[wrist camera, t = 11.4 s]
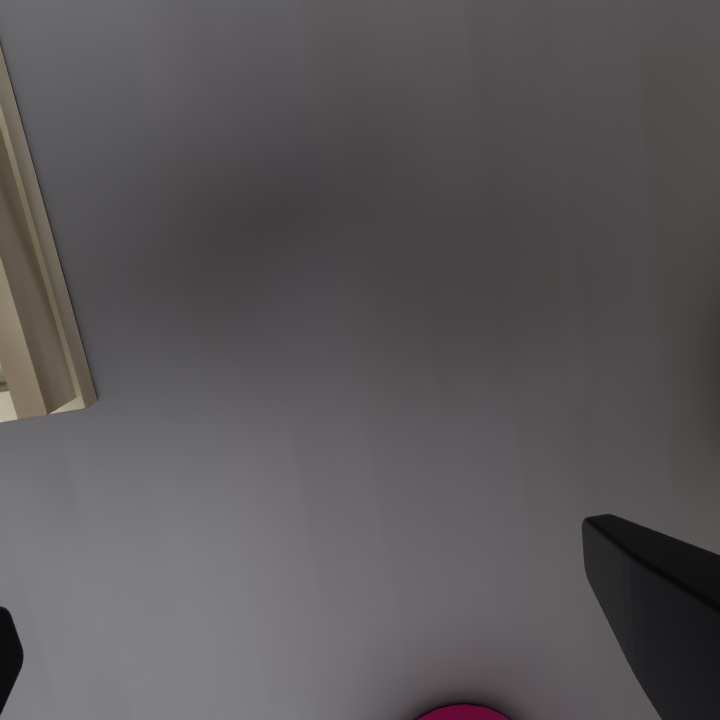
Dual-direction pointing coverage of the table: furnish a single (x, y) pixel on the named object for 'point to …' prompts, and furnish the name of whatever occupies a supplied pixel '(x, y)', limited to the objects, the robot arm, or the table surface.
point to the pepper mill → (463, 713)
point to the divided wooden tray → (32, 290)
